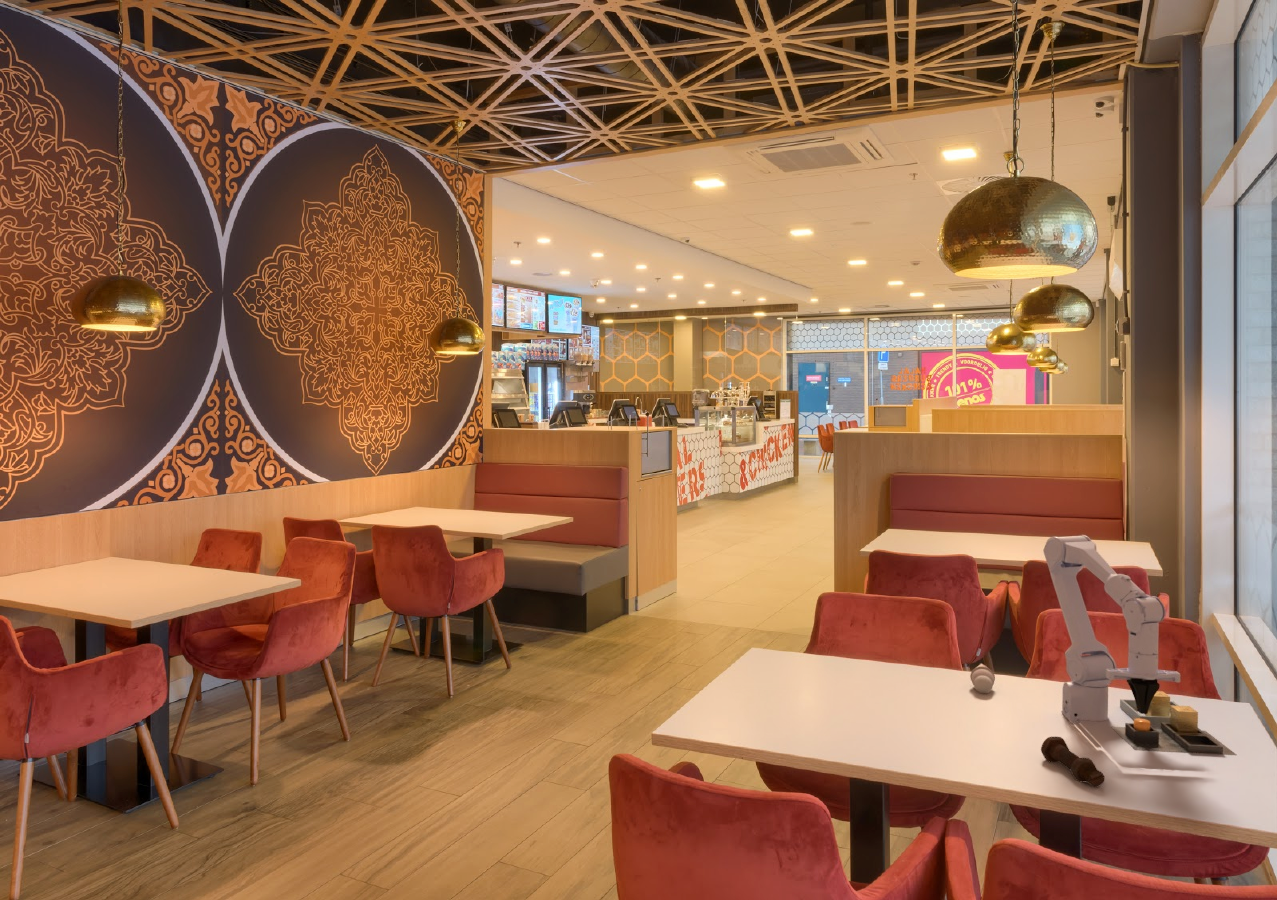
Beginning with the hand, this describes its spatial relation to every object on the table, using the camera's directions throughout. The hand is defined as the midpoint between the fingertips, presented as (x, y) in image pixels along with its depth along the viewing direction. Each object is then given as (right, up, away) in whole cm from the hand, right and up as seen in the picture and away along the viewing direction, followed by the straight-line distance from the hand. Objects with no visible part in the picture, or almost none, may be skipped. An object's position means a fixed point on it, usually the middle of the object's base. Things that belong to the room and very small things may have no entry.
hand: (1142, 712), depth 194 cm
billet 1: (+11, -6, +14) cm, 19 cm away
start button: (0, -4, 0) cm, 5 cm away
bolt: (-23, -8, -15) cm, 29 cm away
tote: (+11, -6, +14) cm, 19 cm away
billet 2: (+10, -6, +2) cm, 12 cm away
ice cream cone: (-20, -6, +40) cm, 45 cm away
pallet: (+6, -7, -1) cm, 9 cm away
